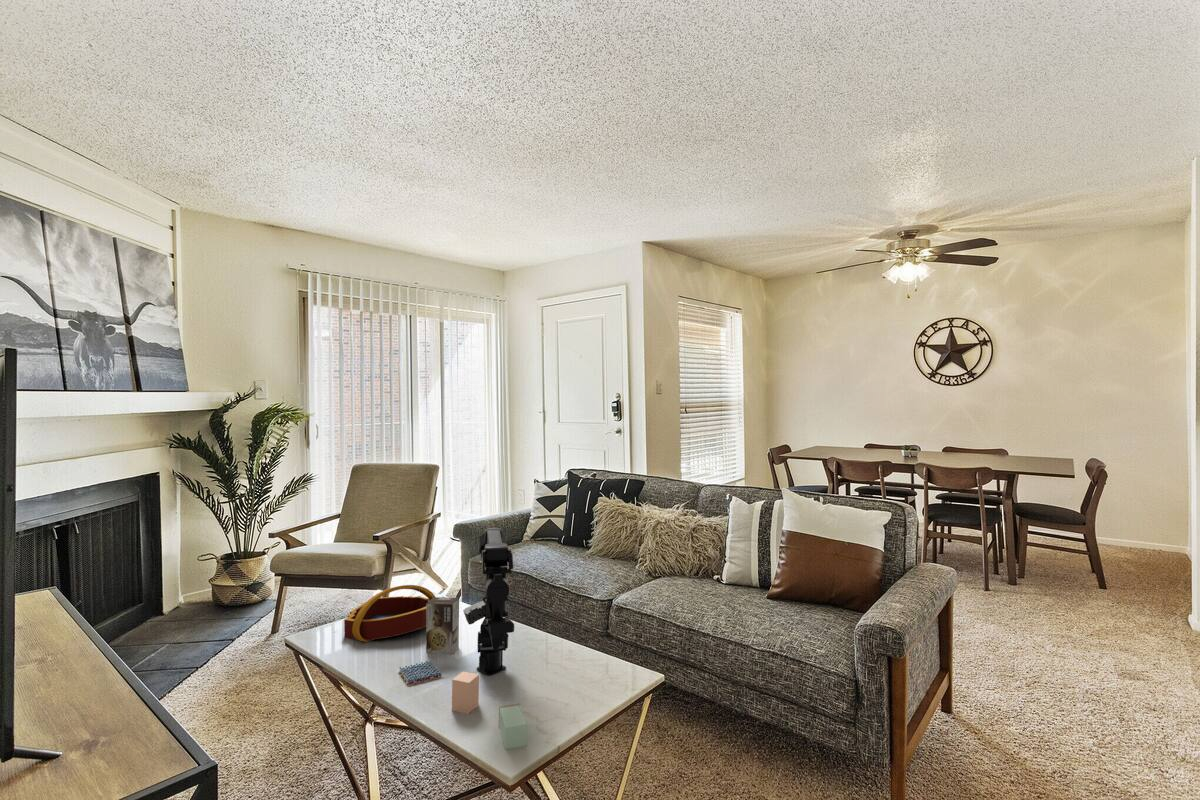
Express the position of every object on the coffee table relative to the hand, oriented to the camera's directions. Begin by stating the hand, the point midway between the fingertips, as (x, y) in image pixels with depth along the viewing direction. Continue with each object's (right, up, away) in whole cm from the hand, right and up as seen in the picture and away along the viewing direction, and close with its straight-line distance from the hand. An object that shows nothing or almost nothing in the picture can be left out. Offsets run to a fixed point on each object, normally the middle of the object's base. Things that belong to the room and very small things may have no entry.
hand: (495, 650), depth 157 cm
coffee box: (-23, -14, +31) cm, 41 cm away
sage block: (+6, -10, -13) cm, 18 cm away
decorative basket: (-44, -14, +49) cm, 68 cm away
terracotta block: (-7, -13, -5) cm, 15 cm away
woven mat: (-24, -14, +13) cm, 31 cm away
